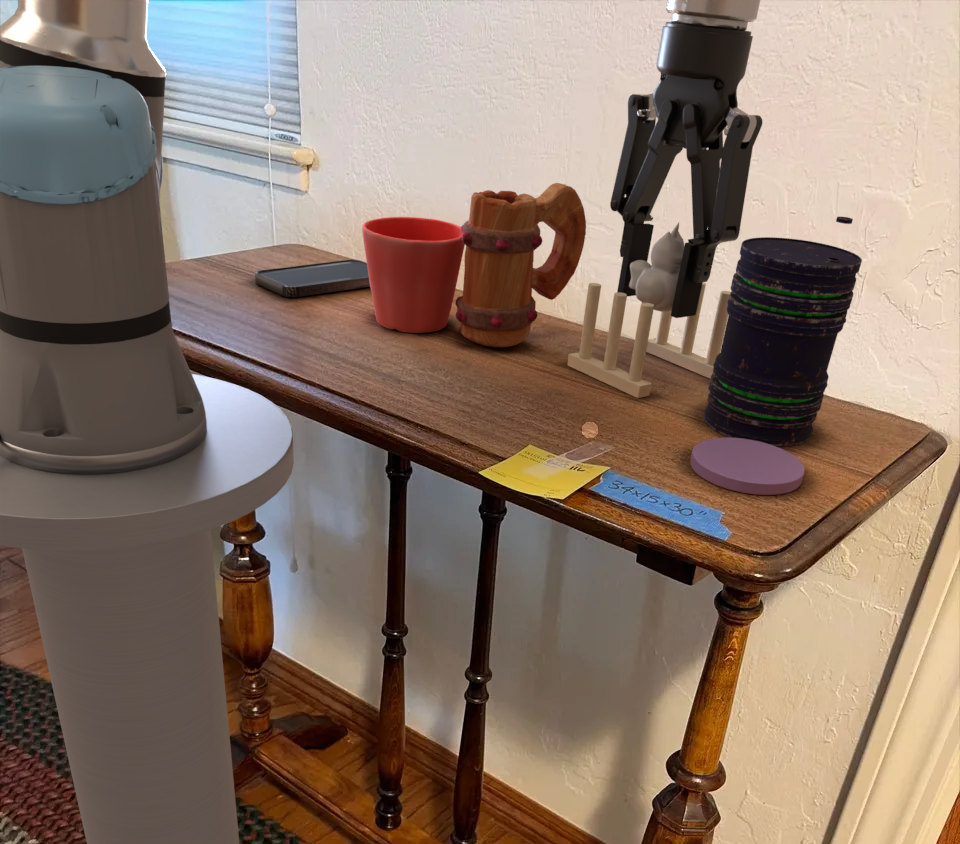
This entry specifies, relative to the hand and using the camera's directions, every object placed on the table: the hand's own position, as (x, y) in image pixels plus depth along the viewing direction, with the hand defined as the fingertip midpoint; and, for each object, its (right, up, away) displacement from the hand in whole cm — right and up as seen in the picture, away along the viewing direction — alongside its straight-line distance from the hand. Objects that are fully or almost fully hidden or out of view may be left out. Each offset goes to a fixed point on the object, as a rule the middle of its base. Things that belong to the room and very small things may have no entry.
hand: (655, 304), depth 92 cm
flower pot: (-24, +2, +11) cm, 27 cm away
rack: (0, -5, +4) cm, 7 cm away
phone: (-36, +10, +21) cm, 43 cm away
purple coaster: (+5, -19, -15) cm, 24 cm away
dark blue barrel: (+8, -13, -6) cm, 16 cm away
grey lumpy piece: (0, 0, 0) cm, 1 cm away
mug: (-13, 0, +9) cm, 16 cm away
